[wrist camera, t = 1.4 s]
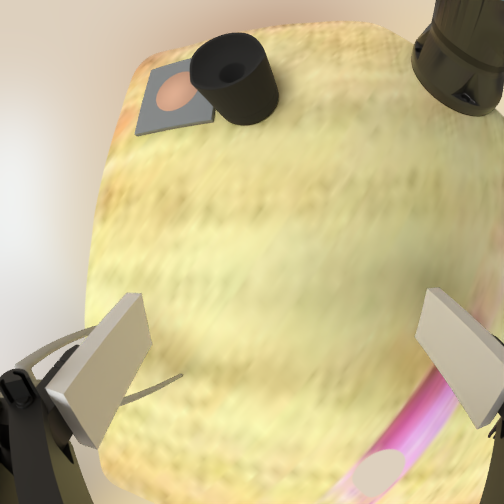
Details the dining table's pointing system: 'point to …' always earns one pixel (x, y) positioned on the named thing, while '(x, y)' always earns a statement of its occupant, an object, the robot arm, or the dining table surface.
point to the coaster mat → (172, 101)
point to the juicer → (50, 348)
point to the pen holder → (235, 78)
